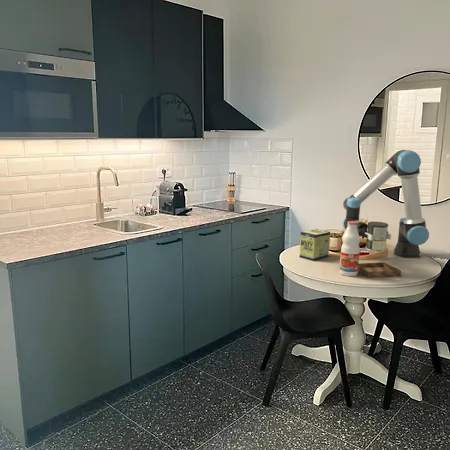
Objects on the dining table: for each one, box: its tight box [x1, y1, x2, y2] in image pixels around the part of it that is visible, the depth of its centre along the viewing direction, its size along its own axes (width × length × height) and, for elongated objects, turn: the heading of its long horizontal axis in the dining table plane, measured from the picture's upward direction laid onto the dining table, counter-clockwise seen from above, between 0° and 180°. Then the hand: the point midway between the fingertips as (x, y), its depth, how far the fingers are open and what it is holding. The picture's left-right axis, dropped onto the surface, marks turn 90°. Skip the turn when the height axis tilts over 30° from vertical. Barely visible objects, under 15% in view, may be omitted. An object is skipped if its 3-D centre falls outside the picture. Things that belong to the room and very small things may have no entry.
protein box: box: [299, 228, 331, 262], centre depth 268 cm, size 10×16×16 cm
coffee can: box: [365, 221, 389, 253], centre depth 239 cm, size 10×10×14 cm
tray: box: [358, 261, 402, 279], centre depth 241 cm, size 19×16×3 cm
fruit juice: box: [339, 221, 361, 277], centre depth 236 cm, size 9×9×28 cm
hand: (381, 237), depth 235 cm, fingers closed on coffee can, 10 cm apart
